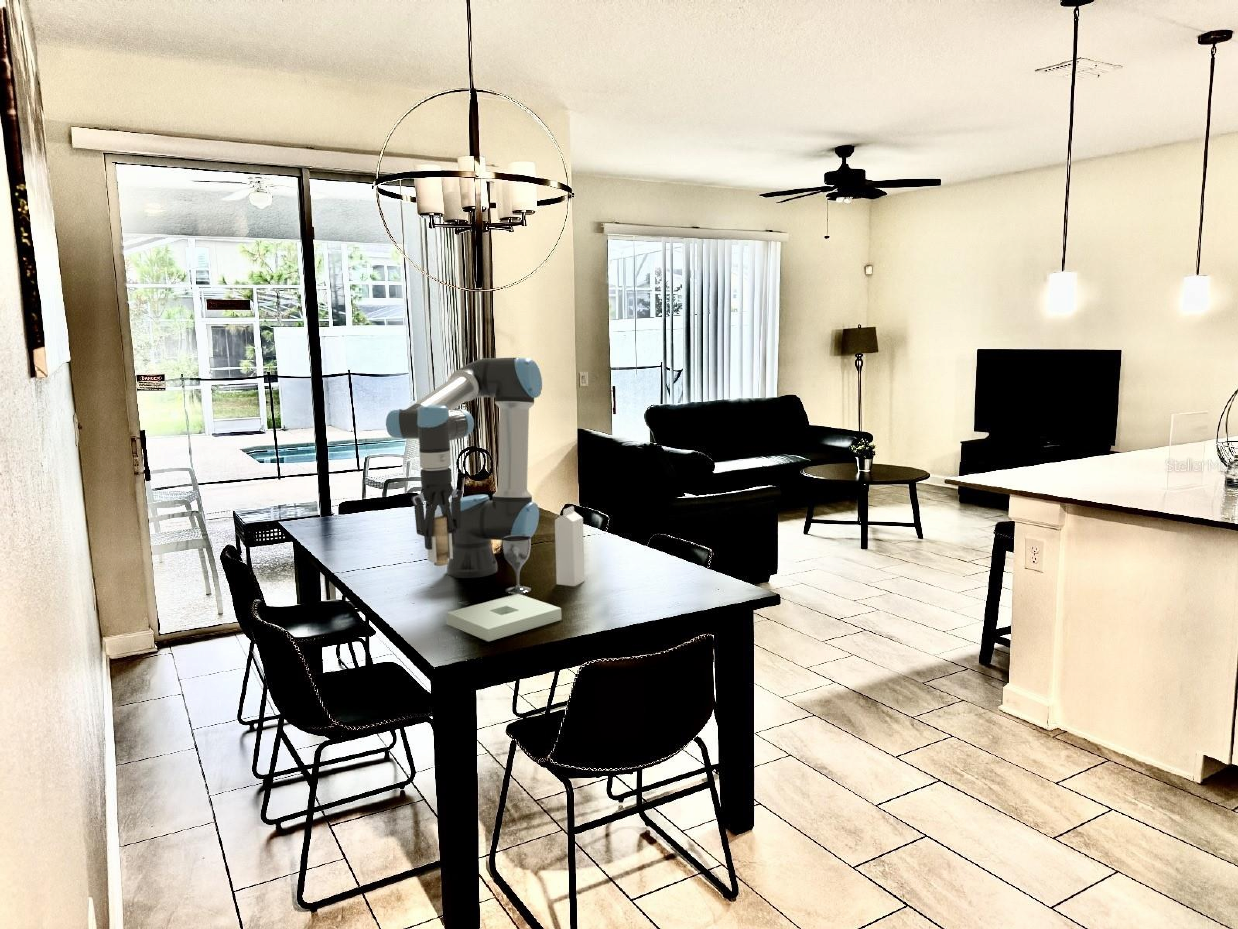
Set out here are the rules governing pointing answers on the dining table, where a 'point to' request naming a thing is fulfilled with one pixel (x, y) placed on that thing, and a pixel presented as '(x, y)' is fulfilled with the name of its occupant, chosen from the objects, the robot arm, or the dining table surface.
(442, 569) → the dining table surface
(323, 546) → the dining table surface
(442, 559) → the peg
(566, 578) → the milk
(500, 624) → the board
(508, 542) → the wine glass
